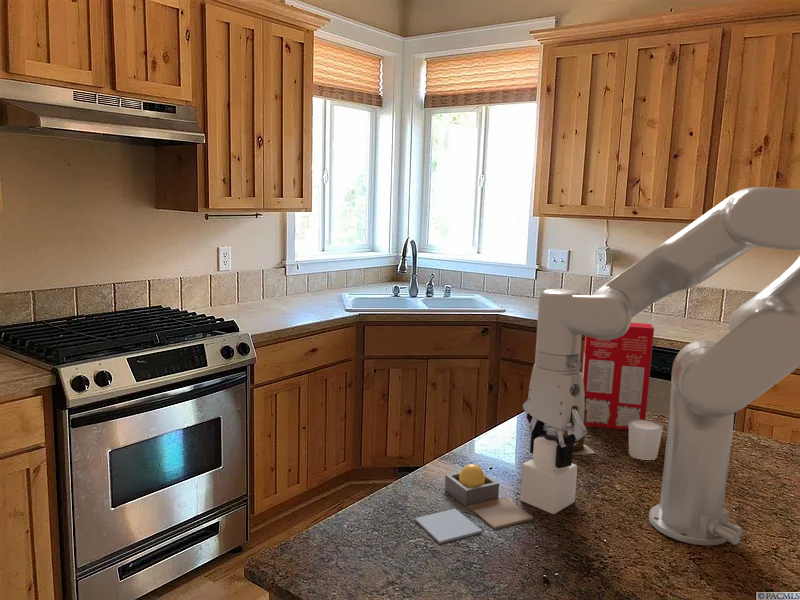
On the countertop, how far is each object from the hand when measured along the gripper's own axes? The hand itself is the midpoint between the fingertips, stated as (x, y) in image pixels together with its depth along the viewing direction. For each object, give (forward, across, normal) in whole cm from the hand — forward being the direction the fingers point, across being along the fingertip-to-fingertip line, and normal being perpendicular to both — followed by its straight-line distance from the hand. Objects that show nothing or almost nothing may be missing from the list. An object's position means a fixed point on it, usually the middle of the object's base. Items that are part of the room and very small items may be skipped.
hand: (550, 458), depth 114 cm
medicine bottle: (+8, 0, 0) cm, 8 cm away
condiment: (+8, +18, -22) cm, 30 cm away
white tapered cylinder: (+8, +8, -33) cm, 35 cm away
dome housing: (+8, +8, +11) cm, 16 cm away
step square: (+8, 0, +10) cm, 13 cm away
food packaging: (+8, +25, -41) cm, 49 cm away
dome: (+8, +8, +11) cm, 16 cm away
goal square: (+8, 0, +21) cm, 23 cm away
